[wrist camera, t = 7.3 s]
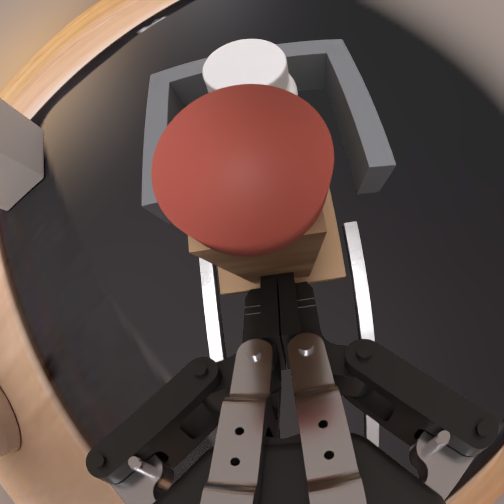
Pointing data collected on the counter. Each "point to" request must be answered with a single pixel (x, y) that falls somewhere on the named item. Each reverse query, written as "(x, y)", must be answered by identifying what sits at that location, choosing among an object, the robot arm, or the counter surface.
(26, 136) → the milk carton
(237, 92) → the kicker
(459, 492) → the counter surface
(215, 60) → the supplement bottle
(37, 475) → the counter surface
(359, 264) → the track
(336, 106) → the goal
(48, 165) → the counter surface
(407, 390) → the robot arm
